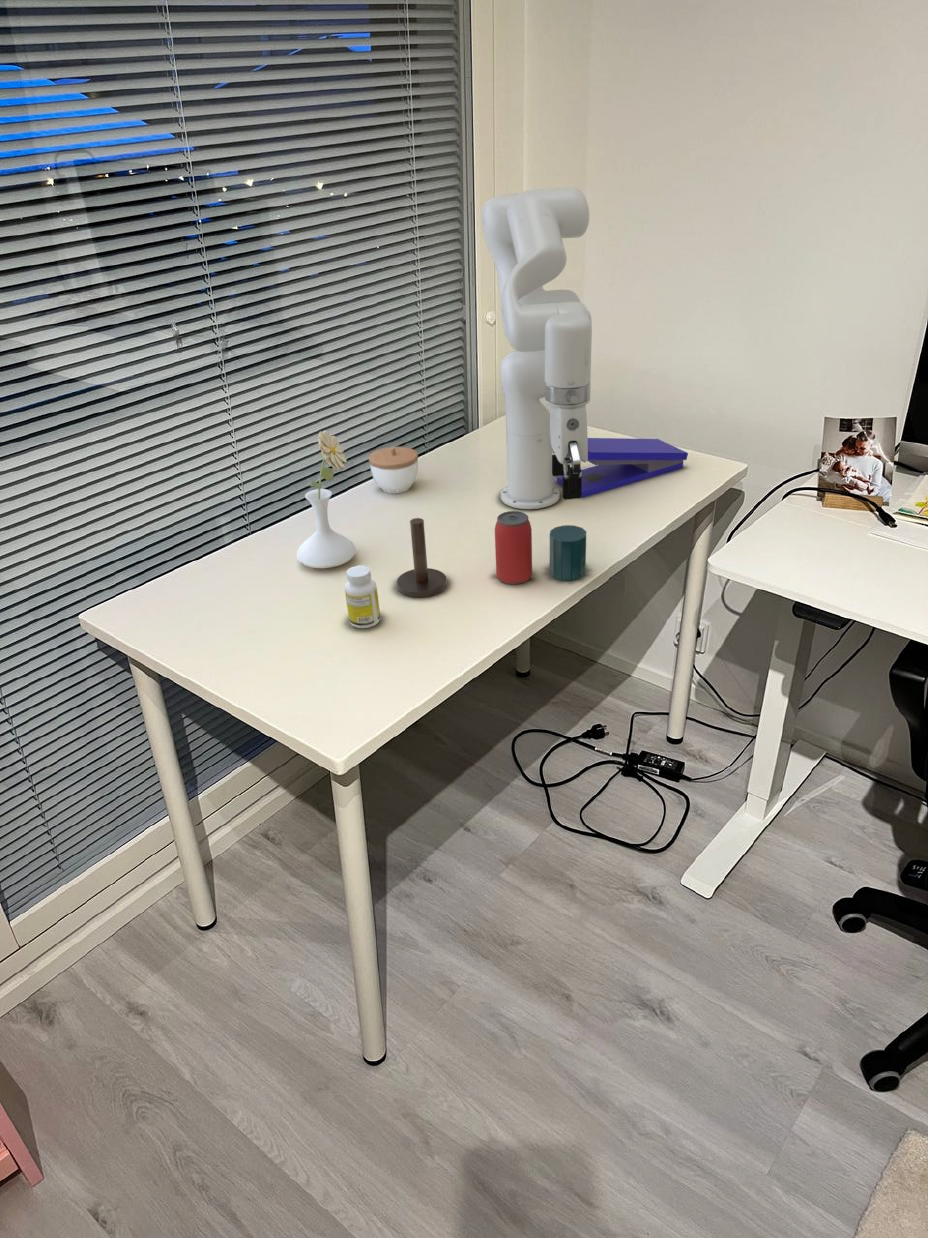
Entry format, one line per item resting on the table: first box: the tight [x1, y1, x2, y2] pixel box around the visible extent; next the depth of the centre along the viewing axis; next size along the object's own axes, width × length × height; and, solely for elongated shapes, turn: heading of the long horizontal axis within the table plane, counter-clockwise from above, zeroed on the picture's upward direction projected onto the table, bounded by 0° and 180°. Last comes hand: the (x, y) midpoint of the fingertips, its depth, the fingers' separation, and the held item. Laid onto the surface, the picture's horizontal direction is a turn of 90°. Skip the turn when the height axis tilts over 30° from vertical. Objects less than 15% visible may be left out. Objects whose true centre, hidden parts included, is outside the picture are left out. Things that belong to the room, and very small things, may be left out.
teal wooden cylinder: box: [549, 524, 587, 582], centre depth 174 cm, size 6×6×8 cm
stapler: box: [556, 437, 689, 498], centre depth 210 cm, size 12×28×10 cm, turn 119°
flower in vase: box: [296, 429, 357, 569], centre depth 179 cm, size 13×11×25 cm
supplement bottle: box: [344, 565, 381, 629], centre depth 162 cm, size 5×5×10 cm
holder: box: [396, 517, 448, 599], centre depth 171 cm, size 9×9×13 cm
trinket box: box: [368, 446, 419, 495], centre depth 210 cm, size 11×11×9 cm
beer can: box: [494, 510, 533, 585], centre depth 172 cm, size 7×7×12 cm
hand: (566, 486), depth 168 cm, fingers open, 9 cm apart
